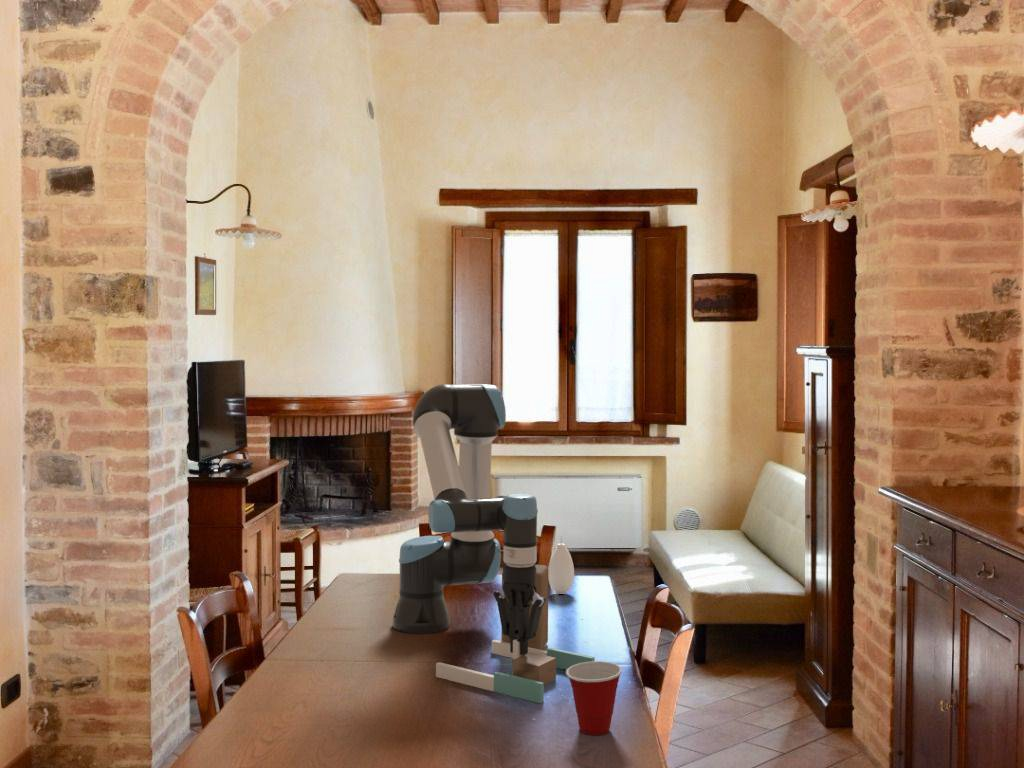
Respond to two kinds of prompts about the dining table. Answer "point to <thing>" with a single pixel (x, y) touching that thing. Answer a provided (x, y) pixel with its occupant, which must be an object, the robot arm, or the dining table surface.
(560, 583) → the sauce bottle
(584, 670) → the plastic cup
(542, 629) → the wooden block
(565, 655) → the walled lane
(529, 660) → the walnut block
